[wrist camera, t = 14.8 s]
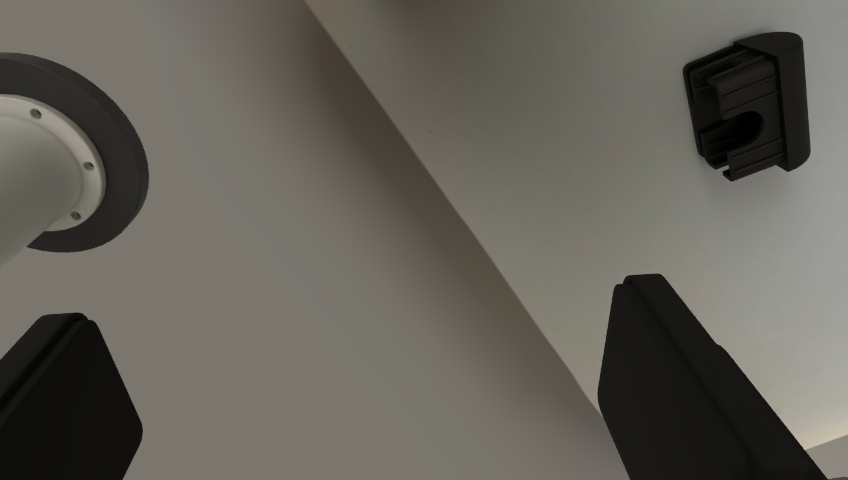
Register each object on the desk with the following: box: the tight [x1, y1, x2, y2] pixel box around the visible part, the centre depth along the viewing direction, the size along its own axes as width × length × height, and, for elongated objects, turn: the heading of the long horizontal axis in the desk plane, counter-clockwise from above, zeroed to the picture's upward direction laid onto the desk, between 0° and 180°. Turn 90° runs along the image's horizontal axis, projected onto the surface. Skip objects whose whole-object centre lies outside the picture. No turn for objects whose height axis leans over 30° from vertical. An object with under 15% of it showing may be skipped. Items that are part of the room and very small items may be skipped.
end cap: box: [683, 32, 811, 182], centre depth 44 cm, size 10×7×7 cm
